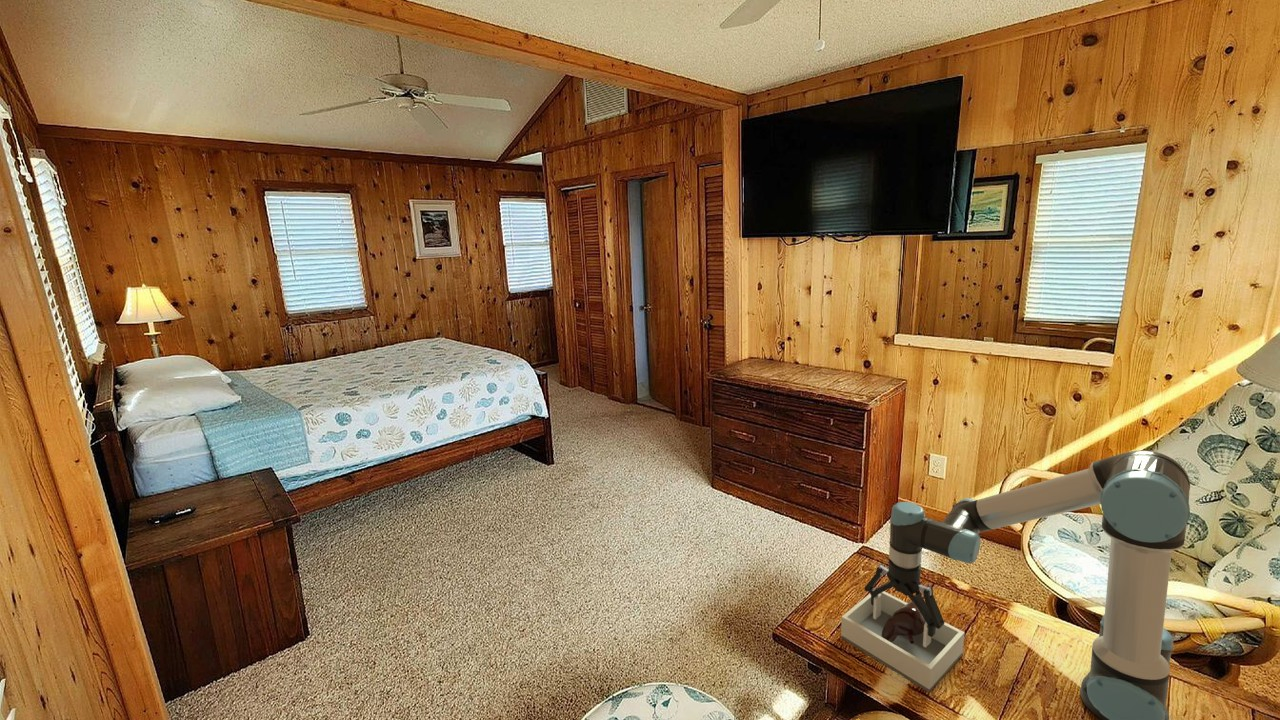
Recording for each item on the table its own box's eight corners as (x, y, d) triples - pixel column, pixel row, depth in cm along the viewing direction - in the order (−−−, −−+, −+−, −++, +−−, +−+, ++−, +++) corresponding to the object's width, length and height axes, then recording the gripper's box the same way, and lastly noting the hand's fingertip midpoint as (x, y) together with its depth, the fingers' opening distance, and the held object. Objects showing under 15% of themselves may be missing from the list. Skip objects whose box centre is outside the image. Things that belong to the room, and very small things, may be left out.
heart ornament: (925, 616, 149) (931, 638, 139) (882, 628, 153) (886, 651, 143) (913, 594, 149) (919, 615, 139) (871, 607, 153) (874, 629, 143)
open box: (962, 654, 141) (964, 632, 140) (929, 692, 131) (931, 669, 129) (876, 607, 160) (876, 587, 158) (841, 638, 150) (841, 616, 148)
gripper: (963, 576, 131) (956, 649, 137) (867, 535, 151) (865, 600, 156) (948, 590, 127) (942, 664, 132) (852, 545, 147) (850, 612, 152)
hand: (900, 629), depth 144 cm, fingers open, 13 cm apart
